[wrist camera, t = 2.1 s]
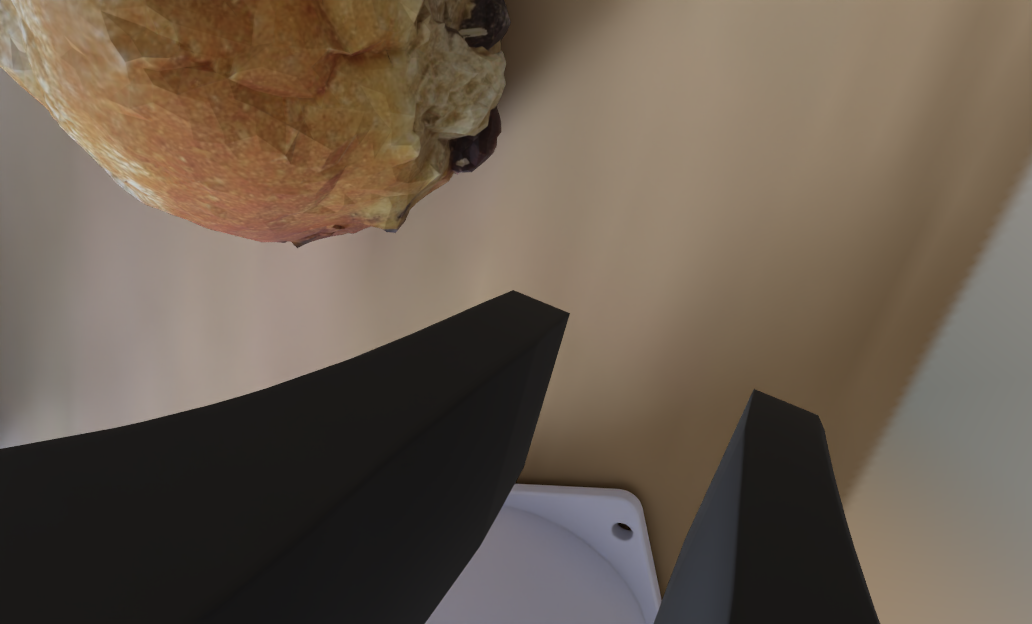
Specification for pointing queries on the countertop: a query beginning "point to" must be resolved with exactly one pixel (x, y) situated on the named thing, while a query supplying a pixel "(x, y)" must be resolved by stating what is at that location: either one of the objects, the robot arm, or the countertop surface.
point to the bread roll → (268, 102)
